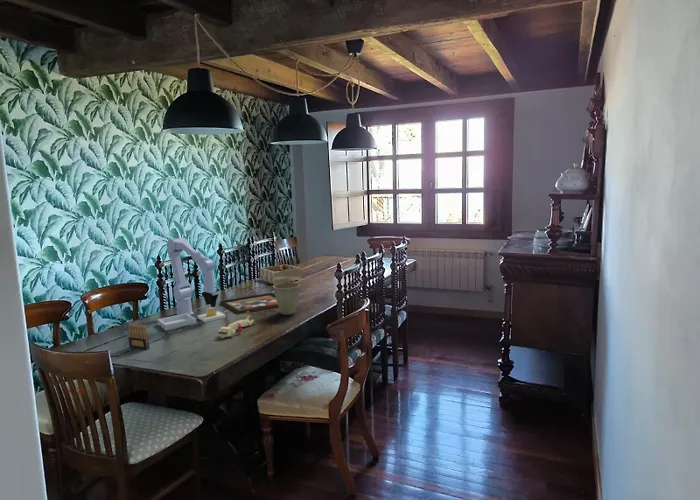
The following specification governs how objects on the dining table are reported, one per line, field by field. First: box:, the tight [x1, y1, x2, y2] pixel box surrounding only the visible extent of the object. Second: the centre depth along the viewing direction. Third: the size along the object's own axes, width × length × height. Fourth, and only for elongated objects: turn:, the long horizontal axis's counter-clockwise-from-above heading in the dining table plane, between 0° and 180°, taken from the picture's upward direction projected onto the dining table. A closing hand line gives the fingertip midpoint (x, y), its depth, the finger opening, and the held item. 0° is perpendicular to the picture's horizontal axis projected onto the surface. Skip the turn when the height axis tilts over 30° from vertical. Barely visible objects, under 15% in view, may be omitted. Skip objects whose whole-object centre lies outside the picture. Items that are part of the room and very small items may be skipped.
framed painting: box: [219, 292, 279, 315], centre depth 292 cm, size 38×35×3 cm
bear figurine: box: [277, 263, 287, 272], centre depth 358 cm, size 14×15×12 cm
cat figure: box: [218, 311, 256, 339], centre depth 241 cm, size 10×9×25 cm
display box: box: [259, 263, 302, 286], centre depth 359 cm, size 23×22×9 cm
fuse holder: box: [197, 310, 226, 323], centre depth 265 cm, size 10×12×2 cm
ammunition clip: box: [128, 321, 150, 351], centre depth 221 cm, size 11×2×12 cm, turn 67°
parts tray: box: [157, 313, 197, 332], centre depth 257 cm, size 14×16×3 cm
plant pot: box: [272, 282, 301, 315], centre depth 270 cm, size 15×15×16 cm
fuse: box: [205, 306, 217, 317], centre depth 265 cm, size 3×4×6 cm, turn 127°
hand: (210, 305), depth 264 cm, fingers open, 7 cm apart
